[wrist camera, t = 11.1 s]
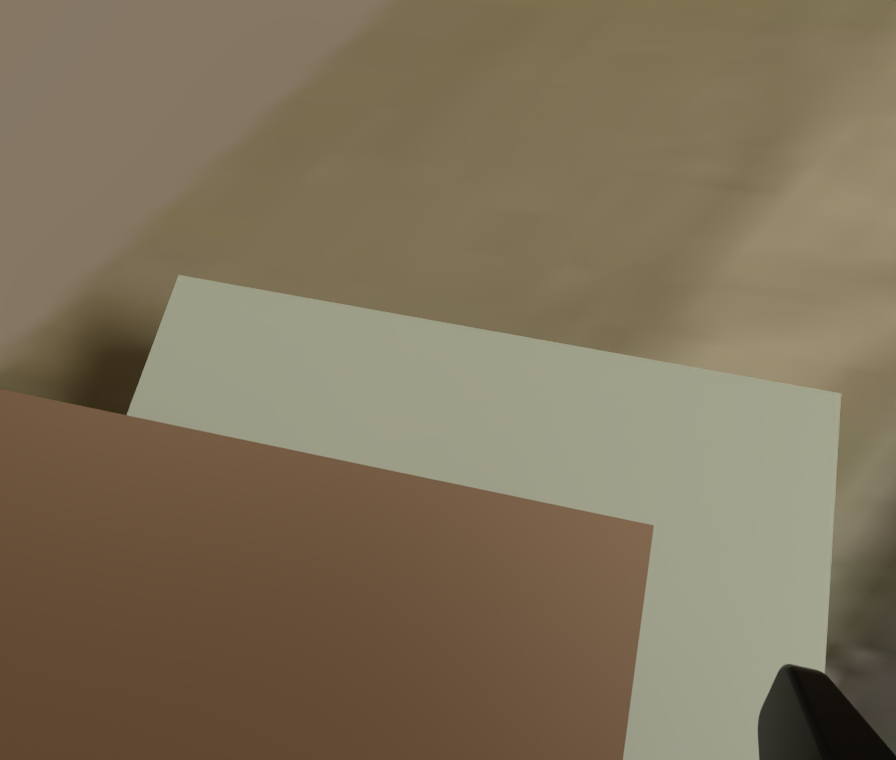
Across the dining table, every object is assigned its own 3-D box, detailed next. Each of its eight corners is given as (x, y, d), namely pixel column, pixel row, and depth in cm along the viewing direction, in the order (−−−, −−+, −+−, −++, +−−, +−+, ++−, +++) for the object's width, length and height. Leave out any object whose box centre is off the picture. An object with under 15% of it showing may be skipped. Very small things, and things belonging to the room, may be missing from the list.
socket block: (687, 1099, 14) (784, 1353, 9) (81, 906, 16) (-105, 1033, 11) (749, 453, 18) (841, 393, 13) (258, 358, 19) (178, 275, 15)
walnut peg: (502, 793, 15) (500, 1688, 2) (319, 744, 15) (-443, 1270, 3) (537, 596, 16) (653, 526, 4) (366, 557, 16) (-40, 381, 4)
